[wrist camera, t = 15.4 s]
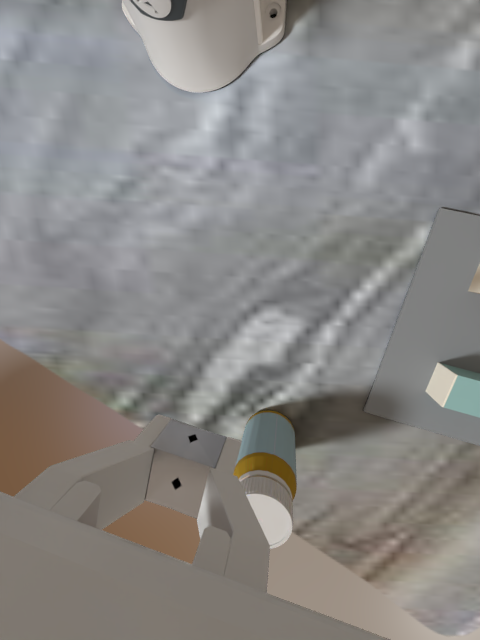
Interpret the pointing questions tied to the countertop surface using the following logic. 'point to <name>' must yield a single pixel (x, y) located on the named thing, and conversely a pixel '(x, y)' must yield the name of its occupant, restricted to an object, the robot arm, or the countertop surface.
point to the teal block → (455, 389)
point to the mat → (434, 331)
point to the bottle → (269, 472)
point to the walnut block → (475, 282)
